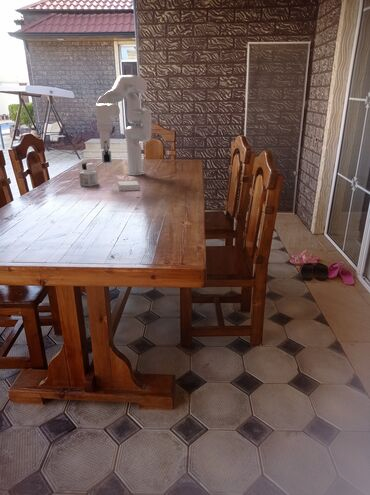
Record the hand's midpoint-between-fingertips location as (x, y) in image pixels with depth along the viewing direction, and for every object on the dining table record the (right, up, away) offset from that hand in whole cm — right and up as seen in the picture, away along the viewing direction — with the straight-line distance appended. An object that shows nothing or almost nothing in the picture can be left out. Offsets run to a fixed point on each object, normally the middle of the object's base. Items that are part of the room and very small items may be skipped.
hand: (106, 160), depth 214 cm
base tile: (+12, -16, +2) cm, 20 cm away
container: (-13, -12, +10) cm, 21 cm away
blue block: (0, -1, 0) cm, 1 cm away
